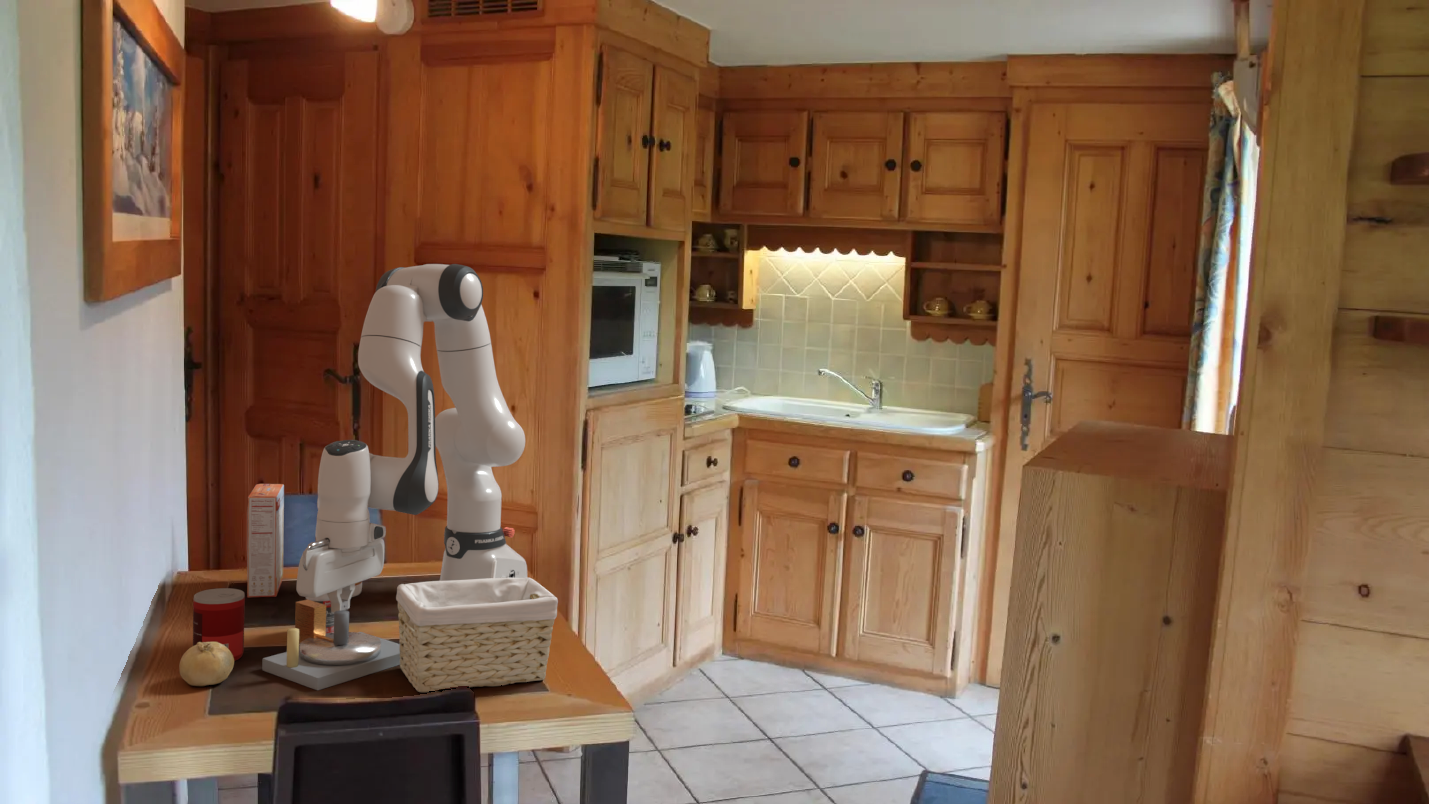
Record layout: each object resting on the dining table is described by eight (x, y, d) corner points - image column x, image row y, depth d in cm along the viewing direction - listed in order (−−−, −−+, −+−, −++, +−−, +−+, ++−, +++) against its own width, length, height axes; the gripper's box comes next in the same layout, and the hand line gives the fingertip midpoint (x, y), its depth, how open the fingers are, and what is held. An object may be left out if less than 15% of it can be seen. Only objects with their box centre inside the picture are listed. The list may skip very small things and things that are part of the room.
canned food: (253, 655, 192) (255, 592, 191) (217, 668, 185) (218, 602, 184) (219, 647, 195) (220, 585, 194) (182, 660, 188) (183, 595, 187)
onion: (171, 680, 178) (171, 636, 178) (222, 670, 184) (222, 628, 183) (189, 695, 173) (190, 650, 172) (241, 684, 178) (242, 641, 178)
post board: (360, 642, 202) (361, 593, 201) (414, 660, 194) (416, 608, 194) (262, 670, 185) (263, 616, 184) (317, 690, 178) (319, 634, 177)
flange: (331, 630, 201) (332, 593, 200) (397, 651, 192) (398, 612, 191) (267, 647, 190) (268, 608, 189) (334, 670, 181) (335, 629, 180)
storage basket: (526, 654, 202) (530, 573, 200) (557, 683, 187) (561, 597, 186) (390, 667, 190) (393, 582, 189) (412, 700, 176) (416, 608, 175)
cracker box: (253, 580, 238) (255, 482, 237) (283, 579, 240) (285, 483, 238) (244, 598, 225) (246, 495, 223) (276, 597, 227) (278, 495, 225)
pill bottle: (326, 639, 203) (328, 585, 202) (298, 635, 204) (299, 581, 203) (343, 630, 208) (344, 577, 208) (315, 626, 210) (316, 574, 209)
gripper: (319, 547, 187) (317, 628, 188) (391, 526, 206) (388, 599, 208) (288, 542, 189) (285, 622, 190) (362, 521, 208) (359, 595, 209)
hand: (340, 610), depth 199 cm, fingers closed
